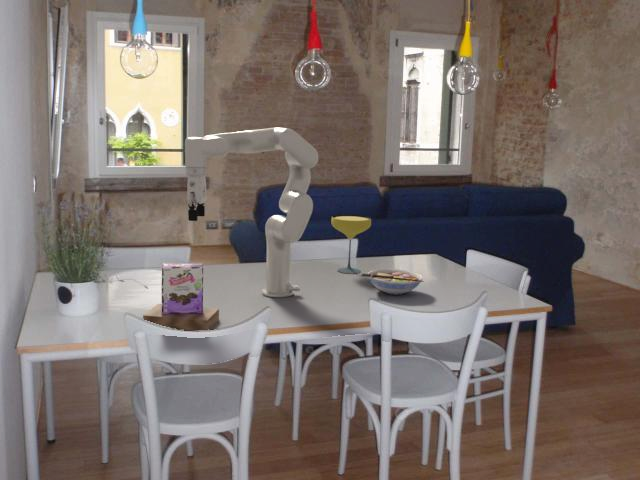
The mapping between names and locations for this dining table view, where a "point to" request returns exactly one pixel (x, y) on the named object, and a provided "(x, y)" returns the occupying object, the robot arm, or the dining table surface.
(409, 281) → the ramen bowl
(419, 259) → the dining table surface
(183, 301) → the candy box
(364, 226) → the cocktail glass
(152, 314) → the walnut base
